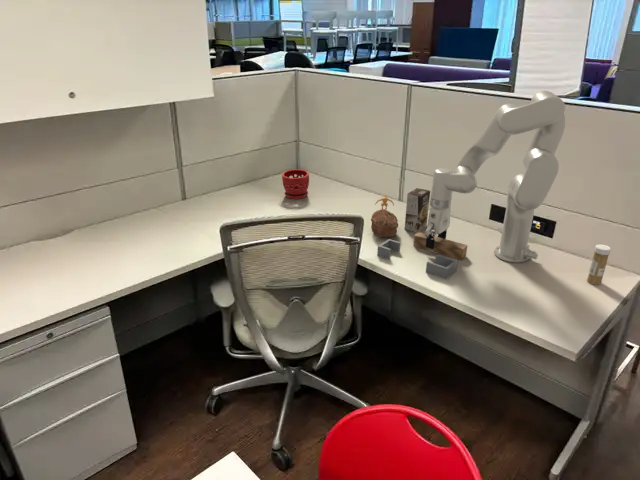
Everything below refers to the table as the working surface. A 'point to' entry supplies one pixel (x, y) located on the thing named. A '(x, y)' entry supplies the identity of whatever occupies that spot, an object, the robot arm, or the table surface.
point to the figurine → (384, 201)
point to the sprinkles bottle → (598, 264)
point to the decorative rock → (384, 223)
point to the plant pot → (296, 183)
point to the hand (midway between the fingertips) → (435, 243)
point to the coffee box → (417, 209)
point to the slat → (442, 246)
